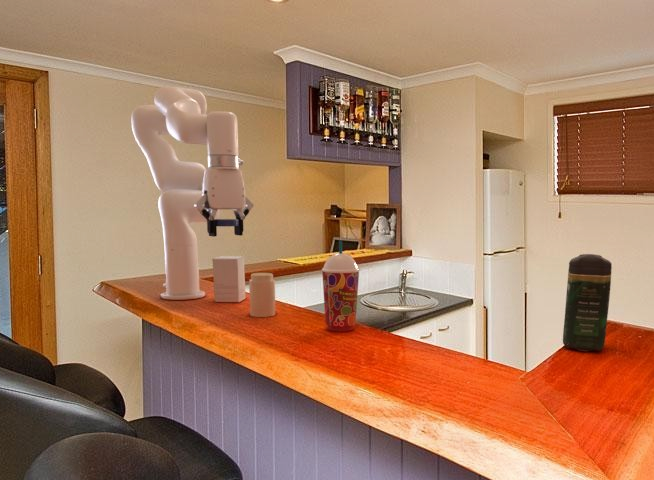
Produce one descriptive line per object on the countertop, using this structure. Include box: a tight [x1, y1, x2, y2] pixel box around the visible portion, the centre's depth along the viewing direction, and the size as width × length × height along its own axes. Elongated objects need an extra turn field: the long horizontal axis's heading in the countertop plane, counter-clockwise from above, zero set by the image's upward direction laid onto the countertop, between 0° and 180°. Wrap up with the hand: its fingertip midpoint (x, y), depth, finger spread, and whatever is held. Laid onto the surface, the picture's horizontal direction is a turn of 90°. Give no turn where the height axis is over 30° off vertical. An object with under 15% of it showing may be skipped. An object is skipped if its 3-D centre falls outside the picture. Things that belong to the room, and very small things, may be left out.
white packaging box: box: [211, 255, 247, 303], centre depth 161 cm, size 7×7×13 cm
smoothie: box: [321, 240, 360, 333], centre depth 125 cm, size 8×8×20 cm
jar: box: [248, 272, 277, 318], centre depth 141 cm, size 6×6×10 cm
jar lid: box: [214, 218, 239, 227], centre depth 142 cm, size 7×7×2 cm
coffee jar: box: [562, 253, 613, 352], centre depth 111 cm, size 10×8×19 cm
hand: (225, 235), depth 143 cm, fingers closed on jar lid, 6 cm apart
